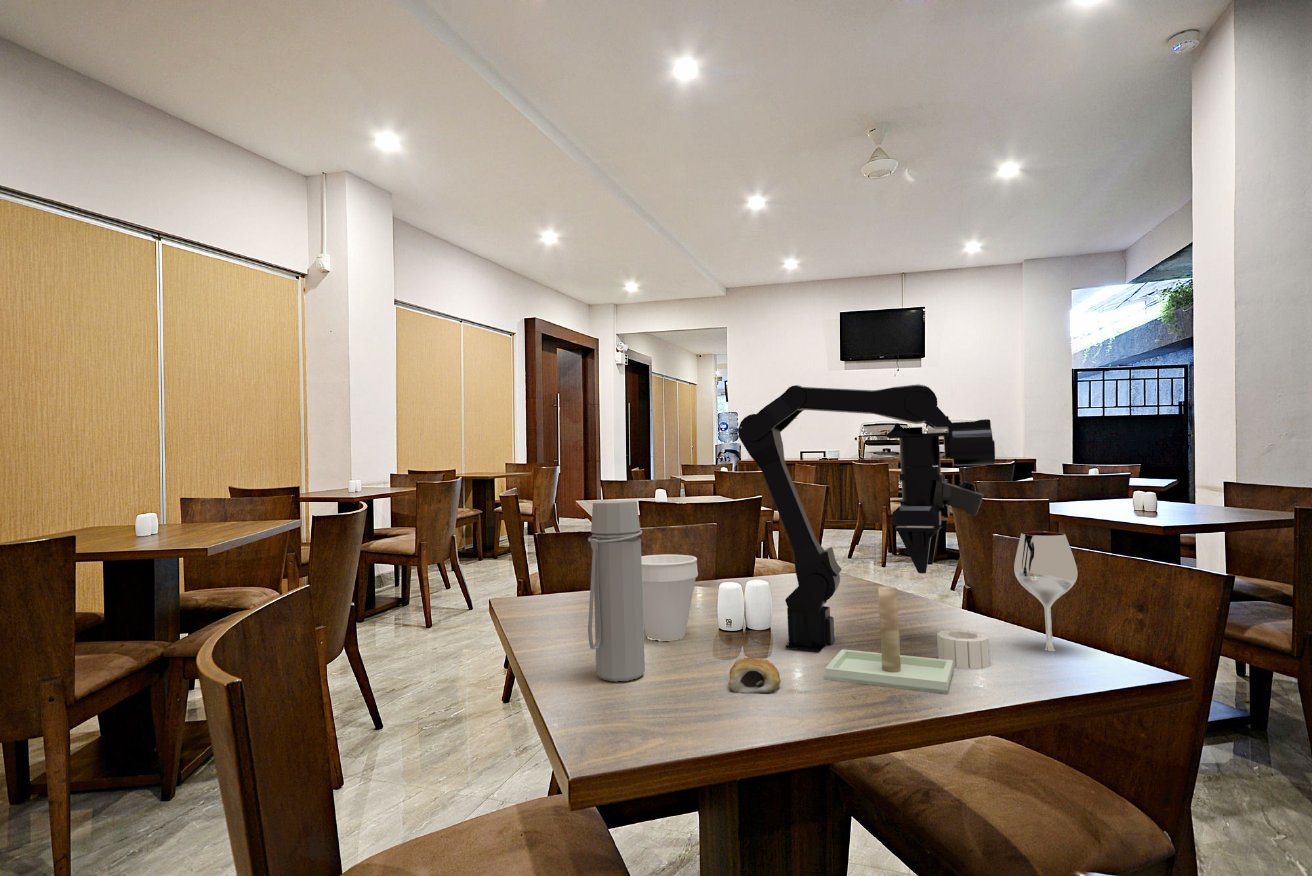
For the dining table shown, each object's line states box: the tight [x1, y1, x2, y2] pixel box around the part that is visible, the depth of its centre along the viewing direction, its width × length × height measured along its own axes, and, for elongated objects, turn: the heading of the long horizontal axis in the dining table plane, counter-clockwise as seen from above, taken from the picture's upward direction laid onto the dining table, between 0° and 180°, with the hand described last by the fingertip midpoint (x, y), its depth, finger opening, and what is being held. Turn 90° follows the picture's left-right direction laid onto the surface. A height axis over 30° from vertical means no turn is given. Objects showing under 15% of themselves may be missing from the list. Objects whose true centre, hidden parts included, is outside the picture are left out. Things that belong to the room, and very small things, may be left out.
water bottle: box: [587, 500, 646, 683], centre depth 95 cm, size 9×8×25 cm
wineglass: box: [1013, 531, 1079, 652], centre depth 98 cm, size 8×8×18 cm
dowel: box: [877, 586, 901, 672], centre depth 90 cm, size 2×2×11 cm
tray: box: [824, 648, 955, 695], centre depth 89 cm, size 15×10×2 cm, turn 62°
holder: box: [936, 629, 991, 670], centre depth 94 cm, size 7×7×4 cm
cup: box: [641, 554, 699, 640], centre depth 117 cm, size 12×12×14 cm
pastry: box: [728, 657, 781, 694], centre depth 90 cm, size 9×7×4 cm
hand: (925, 568), depth 101 cm, fingers open, 9 cm apart
